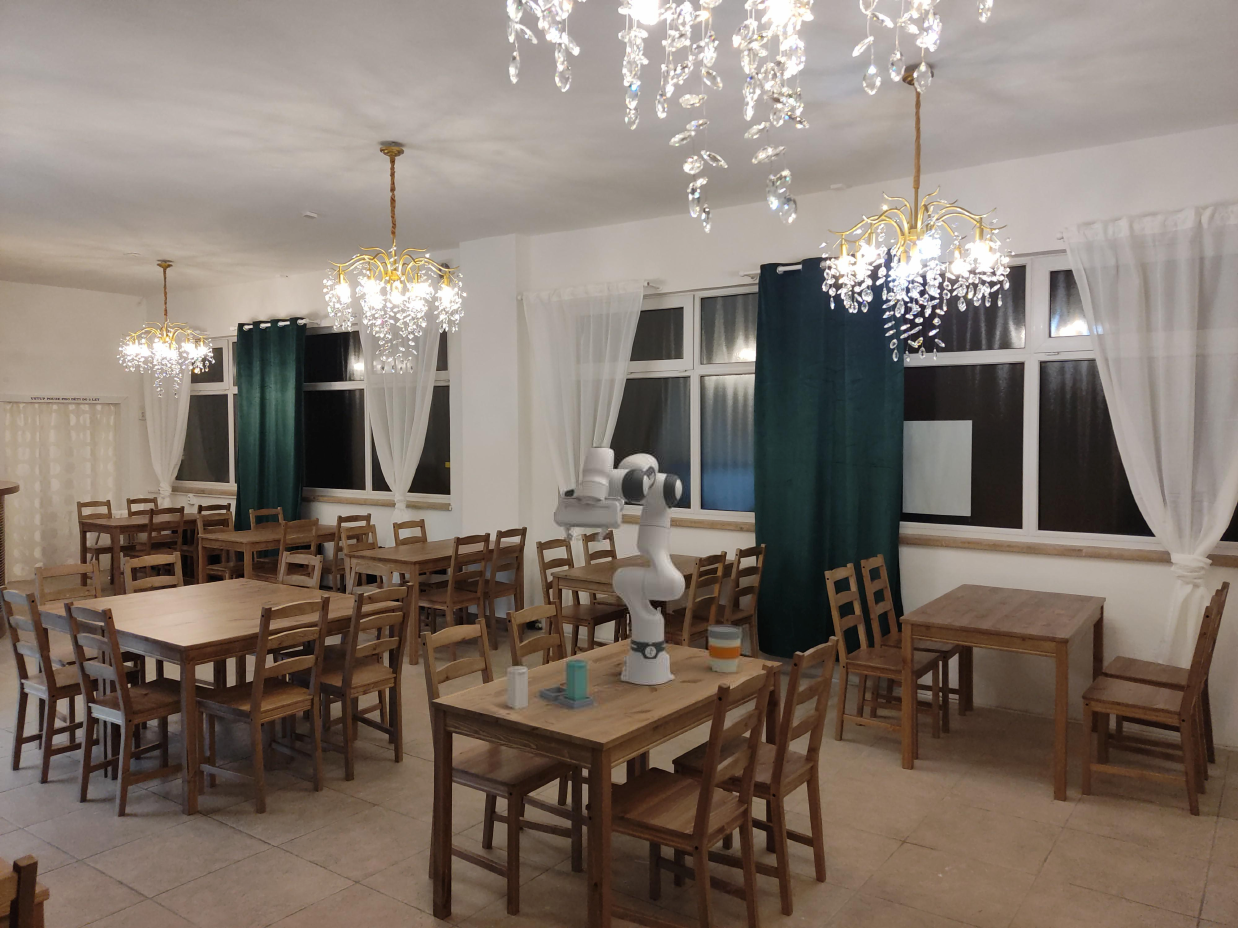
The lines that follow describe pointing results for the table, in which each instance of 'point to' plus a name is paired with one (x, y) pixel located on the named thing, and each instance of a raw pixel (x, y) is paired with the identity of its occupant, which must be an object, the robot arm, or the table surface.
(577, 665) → the teal square canister
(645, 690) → the table surface
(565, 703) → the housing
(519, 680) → the post
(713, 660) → the reusable coffee cup
